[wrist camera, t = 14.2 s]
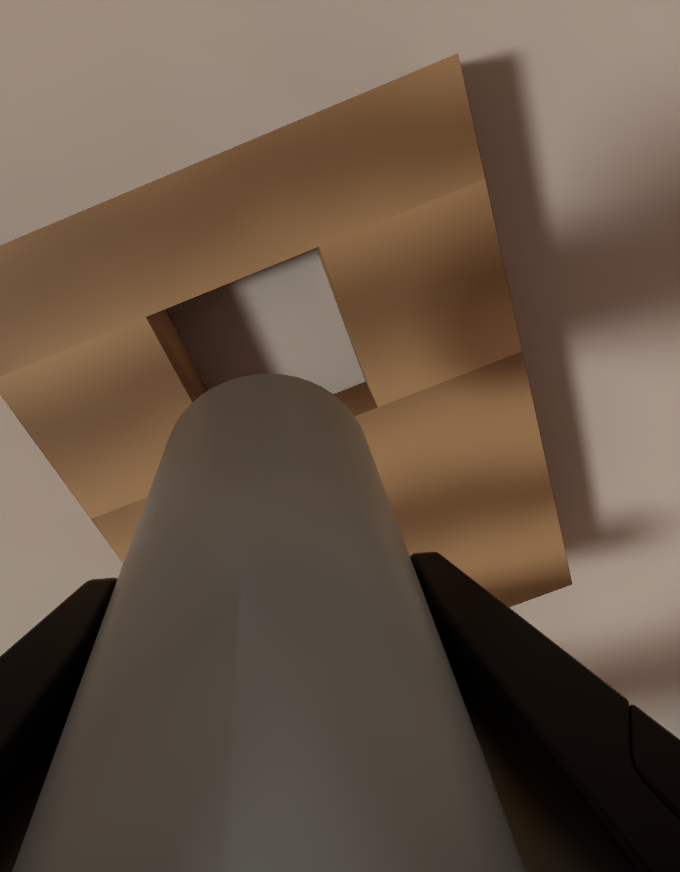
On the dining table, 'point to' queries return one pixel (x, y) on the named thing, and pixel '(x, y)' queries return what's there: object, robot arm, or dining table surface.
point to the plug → (268, 671)
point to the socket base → (358, 304)
